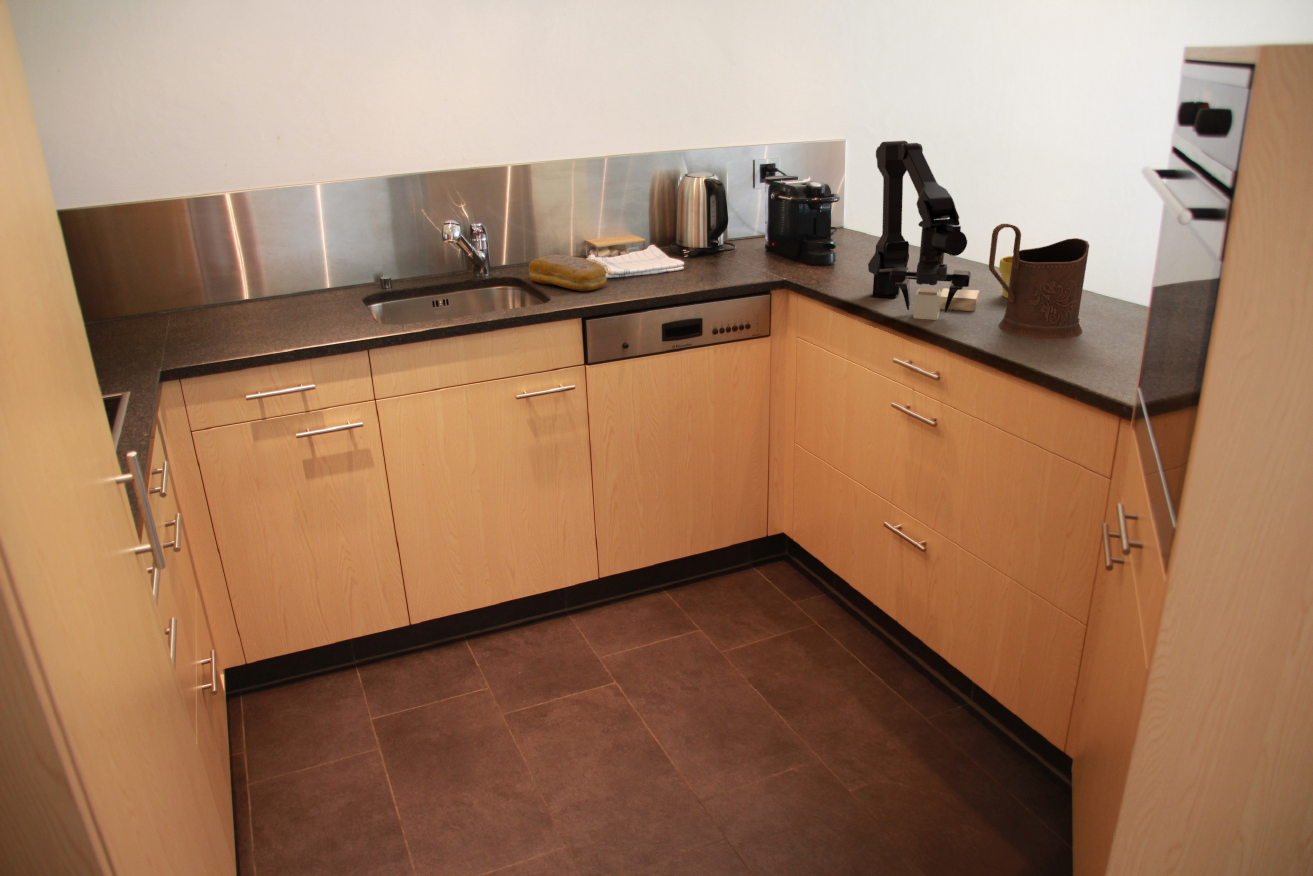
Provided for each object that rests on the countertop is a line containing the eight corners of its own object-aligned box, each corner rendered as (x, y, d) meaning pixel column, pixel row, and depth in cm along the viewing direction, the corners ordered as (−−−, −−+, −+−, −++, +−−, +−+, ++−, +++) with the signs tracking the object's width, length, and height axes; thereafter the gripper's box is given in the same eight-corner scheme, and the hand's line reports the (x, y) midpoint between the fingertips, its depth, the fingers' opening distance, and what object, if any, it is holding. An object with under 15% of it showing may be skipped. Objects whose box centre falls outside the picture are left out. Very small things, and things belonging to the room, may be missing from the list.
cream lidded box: (913, 318, 229) (915, 291, 226) (916, 312, 234) (918, 286, 231) (936, 320, 227) (939, 293, 224) (939, 314, 232) (941, 288, 229)
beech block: (937, 309, 237) (939, 296, 235) (942, 301, 244) (943, 288, 243) (974, 312, 234) (976, 298, 232) (977, 303, 241) (979, 290, 240)
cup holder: (1100, 335, 212) (1118, 225, 202) (1004, 344, 207) (1018, 231, 197) (1051, 315, 228) (1066, 211, 219) (962, 323, 224) (973, 218, 214)
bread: (552, 275, 284) (550, 249, 281) (617, 286, 268) (616, 258, 265) (520, 284, 274) (517, 257, 271) (586, 295, 259) (584, 267, 256)
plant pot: (1040, 302, 240) (1045, 264, 236) (998, 301, 242) (1003, 263, 238) (1033, 292, 249) (1038, 255, 245) (993, 291, 251) (997, 255, 247)
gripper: (887, 252, 220) (883, 316, 226) (970, 256, 214) (963, 322, 220) (895, 243, 230) (890, 305, 236) (974, 247, 223) (967, 310, 229)
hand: (926, 311), depth 230 cm, fingers open, 9 cm apart
